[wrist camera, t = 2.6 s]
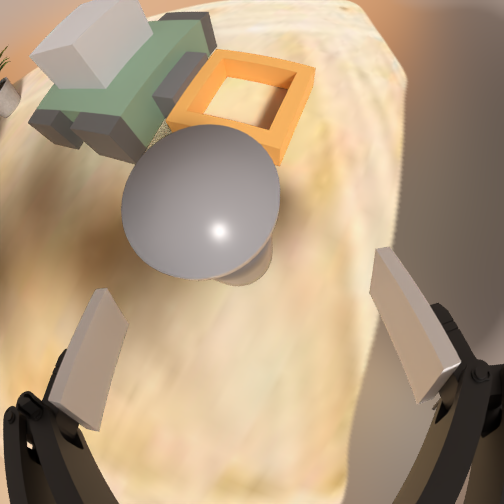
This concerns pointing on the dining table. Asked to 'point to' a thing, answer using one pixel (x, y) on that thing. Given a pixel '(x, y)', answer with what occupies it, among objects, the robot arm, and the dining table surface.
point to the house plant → (7, 95)
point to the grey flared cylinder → (204, 205)
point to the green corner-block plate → (150, 80)
